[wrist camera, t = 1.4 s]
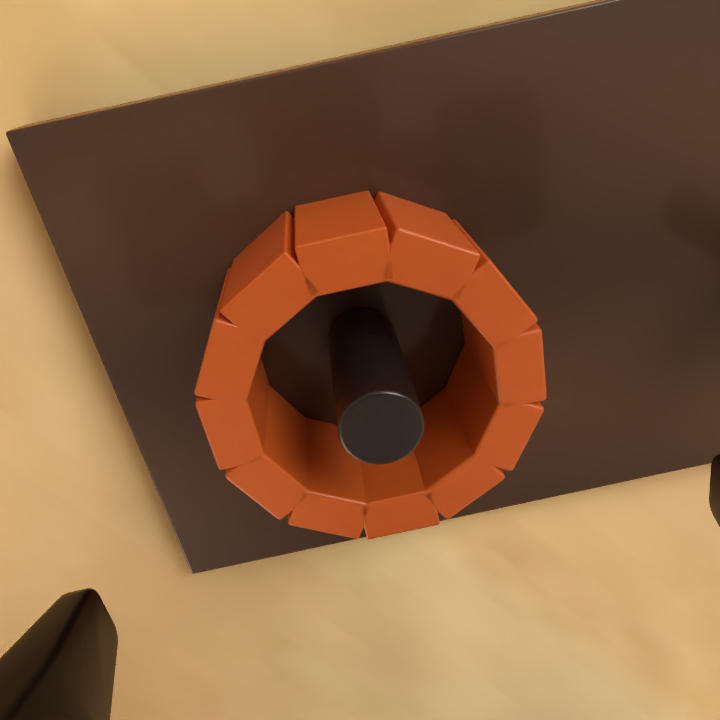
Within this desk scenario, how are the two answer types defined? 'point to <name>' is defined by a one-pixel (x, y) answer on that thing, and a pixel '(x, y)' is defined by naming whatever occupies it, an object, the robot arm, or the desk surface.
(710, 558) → the desk surface
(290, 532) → the peg board
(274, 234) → the ring
